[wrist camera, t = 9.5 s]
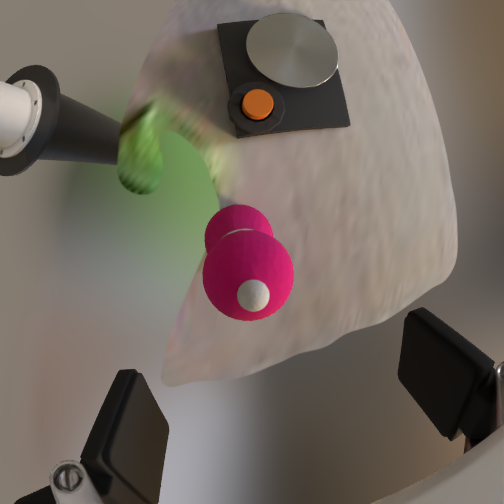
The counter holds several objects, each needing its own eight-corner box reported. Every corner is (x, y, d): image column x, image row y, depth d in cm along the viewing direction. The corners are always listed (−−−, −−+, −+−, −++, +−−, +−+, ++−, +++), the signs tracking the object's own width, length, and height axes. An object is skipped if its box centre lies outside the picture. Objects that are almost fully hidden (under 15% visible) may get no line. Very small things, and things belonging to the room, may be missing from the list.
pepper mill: (272, 207, 33) (336, 246, 14) (260, 264, 35) (301, 361, 16) (212, 196, 32) (195, 222, 13) (202, 255, 34) (180, 349, 15)
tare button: (244, 121, 28) (245, 118, 26) (239, 95, 27) (240, 91, 25) (273, 118, 28) (276, 114, 26) (268, 92, 27) (270, 87, 26)
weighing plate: (254, 93, 27) (255, 91, 26) (238, 18, 24) (238, 15, 23) (345, 88, 27) (348, 86, 27) (324, 17, 25) (326, 14, 24)
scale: (232, 139, 31) (233, 135, 28) (213, 29, 27) (212, 18, 24) (346, 127, 32) (356, 123, 29) (320, 24, 27) (327, 14, 24)
